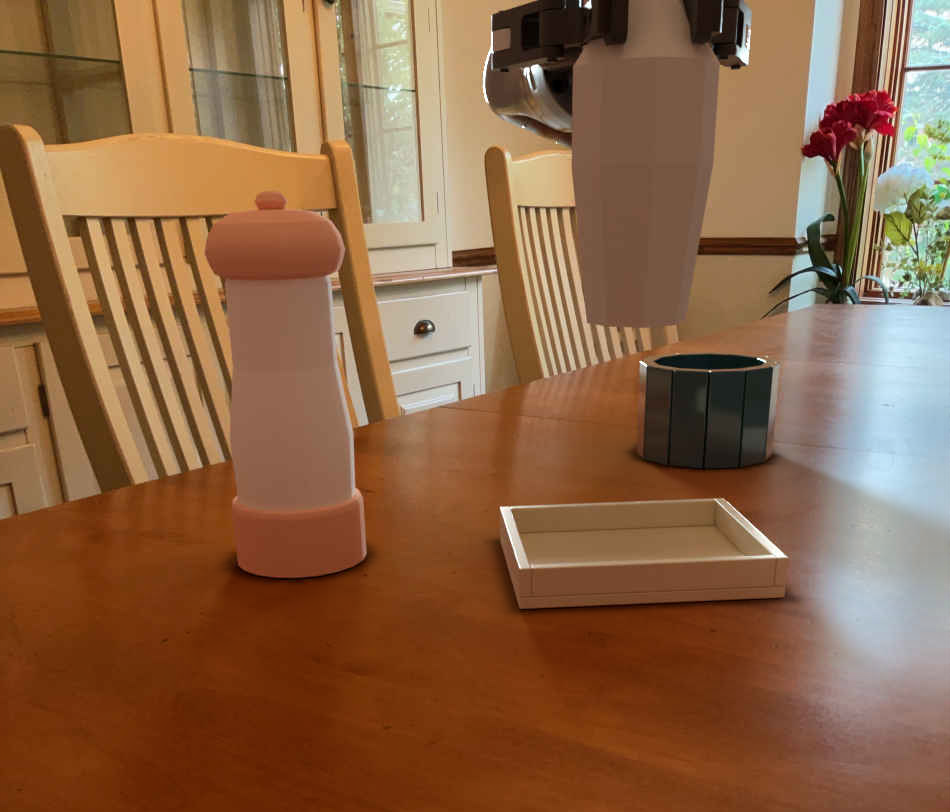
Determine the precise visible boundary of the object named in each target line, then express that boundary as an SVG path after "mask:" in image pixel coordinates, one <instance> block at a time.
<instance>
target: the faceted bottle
mask: <svg viewBox="0 0 950 812" xmlns="http://www.w3.org/2000/svg"><path fill="white" fill-rule="evenodd" d="M720 67H721V65H720V63H719V61H718V60H717V58H716V56H715V54H714V53H713V51H712V49H711V47H710V46H709V44H708V42H707V43H705V44H703V45H702V44H699V43H691V35H690V26H689V21H688V18H687V14H686V10H685V7H684V3H683V0H629V10H628V34H627V40H626V43H624V44H617V45H607V46H606V44H605V41H604V38H599V39H595V40H591V41H589V43H588V44H587V46H586V47H585V49H584V50H583V52H582V53H581V55H580V57H579V58H578V60H577V61H576V63H575V64H574V66H573V103H572V150H571V175H572V186H573V197H574V206H575V216H576V227H577V235H578V246H579V256H580V258H579V259H580V267H581V277H582V288H583V289H582V290H583V297H584V307H585V309H584V310H585V317H586V318H585V319H586V323H587V324H590V325H591V324H592V325H597V326H601V327H610V328H633V329H634V328H635V329H647V328H659V327H669V326H672V327H673V326H676V325H679V324H681V323H684V322H686V320H687V319H686V318H687V314H688V308H689V303H690V296H691V292H692V291H691V290H692V285H693V280H694V274H695V268H696V263H697V258H698V251H699V246H700V240H701V236H702V230H703V225H704V224H703V223H704V218H705V212H706V207H707V201H708V196H709V189H710V185H711V178H712V173H713V167H714V159H715V146H716V145H715V143H716V130H717V129H716V128H717V111H718V97H719V84H720V83H719V82H720Z"/></svg>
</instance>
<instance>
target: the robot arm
mask: <svg viewBox="0 0 950 812" xmlns="http://www.w3.org/2000/svg"><path fill="white" fill-rule="evenodd" d="M683 3H684V7H685V10H686V14H687V18H688V21H689V26H690V35H691V43H699V44H702V45H703V44H705V43H707V42H708V44H709V46H710V47H711V49H712V51H713V53H714V54H715V56H716V58H717V60H718V61H719V63H720V66H723V67H724V68H730V70H733V71H734V70H741V69H742V67H748V66H749V57H750V55H749V54H750V46H751V45H750V44H751V31H752V28H751V27H752V18H753V17H752V16H753V10H752V9H751V7H750V6H749V5H748V4H747V3H746V2H745V0H683ZM628 10H629V0H533V1H530V2H527V3H524V4H521V5H517V6H514V7H511V8H508V9H505V10H498V12H496V13H492V14H491V47H490V50H489V52H488V55H487V58H486V61H485V66H484V71H483V93H484V98H485V101H486V104H487V106H488V108H489V109H490V111H491V112H492V113H493V114H494V115H495V116H497V117H498V118H499V119H501V120H502V121H505V122H507V123H509V124H510V125H513V126H515V127H518V128H521V129H523V130H525V131H528V132H529V133H532V134H534V135H536V136H539V137H541V138H543V139H546V140H548V141H550V142H553V143H556V145H559V146H561V147H564V148H566V149H567V150H570V151H572V103H573V66H574V64H575V63H576V61H577V60H578V58H579V57H580V55H581V53H582V52H583V50H584V49H585V47H586V46H587V44H588V43H589V41H591V40H595V39H599V38H604V41H605V44H606V46H607V45H617V44H624V43H626V40H627V34H628Z"/></svg>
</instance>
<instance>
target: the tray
mask: <svg viewBox="0 0 950 812" xmlns="http://www.w3.org/2000/svg"><path fill="white" fill-rule="evenodd" d="M499 541H500V545H501V549H502V552H503V554H504V555H503V556H504V559H505V563H506V567H507V570H508V574H509V576H510V579H511V584H512V587H513V591H514V594H515V598H516V601H517V604H518V608H519V609H520V610H527V609H528V610H529V609H553V608H572V607H573V608H575V607H597V606H617V605H620V606H621V605H645V604H665V603H687V602H688V603H689V602H691V603H692V602H708V601H709V602H711V601H712V602H713V601H735V600H757V599H779V598H785V594H786V585H787V584H786V583H787V575H788V573H787V572H788V563H789V557H788V556H787V555H786V554H785V553H784V552H782V550H780V549H779V547H777V546H776V545H775V544H774V543H773V542H772V541H770V540H769V539H768V538H767V537H766V536H765V535H764V534H763V533H762V532H761V531H759V529H758V528H756V527H755V526H754V524H752V523H751V522H750V521H749V520H748V519H747V518H746V517H745V516H744V515H743V514H741V513H740V512H739V511H738V510H737V509H736V508H735V507H734V506H732V504H730V502H728V501H727V500H726V499H725V498H724V497H718V498H717V497H715V498H690V499H663V500H662V499H661V500H641V501H639V500H638V501H635V500H634V501H613V502H589V503H588V502H586V503H559V504H537V505H536V504H535V505H533V504H532V505H511V506H509V505H508V506H507V505H506V506H500V507H499Z"/></svg>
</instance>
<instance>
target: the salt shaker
mask: <svg viewBox="0 0 950 812" xmlns="http://www.w3.org/2000/svg"><path fill="white" fill-rule="evenodd" d="M254 204H255V206H256V208H257V209H253V210H244V211H235V212H231V213H229V214H226V215H225V216H224V217H221V219H218V220H217V221H215V222H213V224H212V226H211V229H210V231H209V233H208V235H207V237H206V241H205V248H204V256H205V258H206V261H207V264H208V265H209V268H210V269H211V271H212V273H213V274H214V275H215V276H217V277H221V278H223V279H225V282H224V290H225V291H224V292H225V301H226V308H227V309H226V311H227V321H228V331H229V341H230V350H231V361H232V373H231V374H232V375H231V377H232V379H231V398H230V399H231V400H230V419H229V420H230V421H229V422H230V423H229V444H230V451H231V459H232V466H233V473H234V479H235V487H236V494H237V495H236V496H235V497H233V498H232V501H231V503H230V504H231V515H232V523H233V533H234V540H235V550H236V551H235V552H236V559H237V566H238V567H239V568H241V569H242V570H243V571H244V572H246V573H250V574H252V575H256V576H261V577H268V578H277V579H280V578H281V579H282V578H283V579H284V578H285V579H287V578H288V579H298V578H309V577H319V576H324V575H329V574H334V573H338V572H341V571H344V570H347V569H350V568H353V567H355V566H357V565H358V564H360V563H361V562H363V561H364V559H365V558H366V556H367V551H368V550H367V539H366V538H367V537H366V536H367V535H366V521H365V520H366V519H365V506H364V497H363V495H362V493H361V491H360V490H359V489H358V488H357V487H356V472H355V471H356V470H355V469H356V467H355V445H354V444H355V443H354V442H355V441H354V430H353V425H352V421H351V417H350V411H349V407H348V403H347V399H346V394H345V388H344V385H343V380H342V376H341V370H340V368H339V367H340V365H339V363H338V349H337V348H338V347H337V337H336V325H335V324H336V323H335V313H334V299H333V286H332V285H333V284H332V280H331V278H330V275H332V274H334V273H336V272H338V271H340V269H341V267H342V264H343V261H344V257H345V253H346V246H345V245H344V240H343V237H342V234H341V233H340V231H339V230H338V228H337V226H336V225H335V223H333V221H332V220H331V219H329V218H327V217H325V216H323V215H321V214H319V213H317V212H315V211H313V210H305V209H291V208H286V207H287V205H288V199H287V197H286V195H285V194H284V193H282V192H280V191H278V190H267V191H264V190H263V191H261V192H259V193H258V194H256V196H255V199H254Z"/></svg>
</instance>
